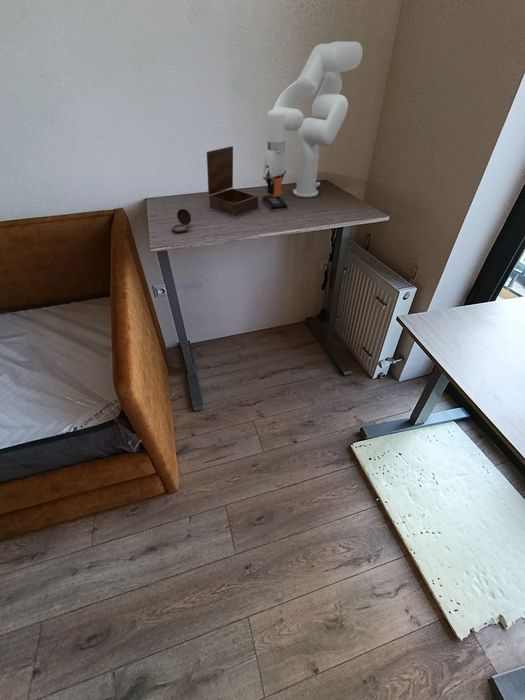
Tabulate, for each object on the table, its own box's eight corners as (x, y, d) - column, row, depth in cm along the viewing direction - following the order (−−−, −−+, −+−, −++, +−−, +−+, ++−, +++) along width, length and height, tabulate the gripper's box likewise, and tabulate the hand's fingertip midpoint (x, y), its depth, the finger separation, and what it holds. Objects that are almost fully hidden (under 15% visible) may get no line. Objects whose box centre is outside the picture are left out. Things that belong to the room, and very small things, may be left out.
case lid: (233, 146, 144) (224, 143, 146) (207, 152, 136) (199, 148, 138) (232, 187, 156) (225, 184, 158) (209, 194, 148) (201, 191, 150)
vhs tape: (271, 211, 151) (271, 206, 149) (262, 200, 161) (262, 196, 160) (286, 209, 152) (287, 205, 151) (277, 199, 162) (277, 194, 161)
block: (273, 192, 156) (274, 176, 151) (281, 194, 153) (281, 178, 149) (267, 194, 153) (267, 178, 148) (274, 196, 151) (275, 180, 146)
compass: (169, 232, 133) (165, 213, 128) (180, 224, 139) (177, 206, 134) (186, 235, 131) (183, 216, 126) (197, 228, 136) (194, 209, 131)
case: (258, 209, 152) (257, 196, 148) (235, 218, 144) (234, 204, 141) (233, 200, 160) (232, 188, 157) (210, 208, 152) (209, 195, 149)
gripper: (281, 141, 147) (279, 186, 159) (255, 147, 137) (255, 194, 150) (295, 144, 143) (292, 189, 155) (269, 150, 134) (268, 198, 146)
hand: (274, 191), depth 152 cm, fingers closed on block, 4 cm apart
